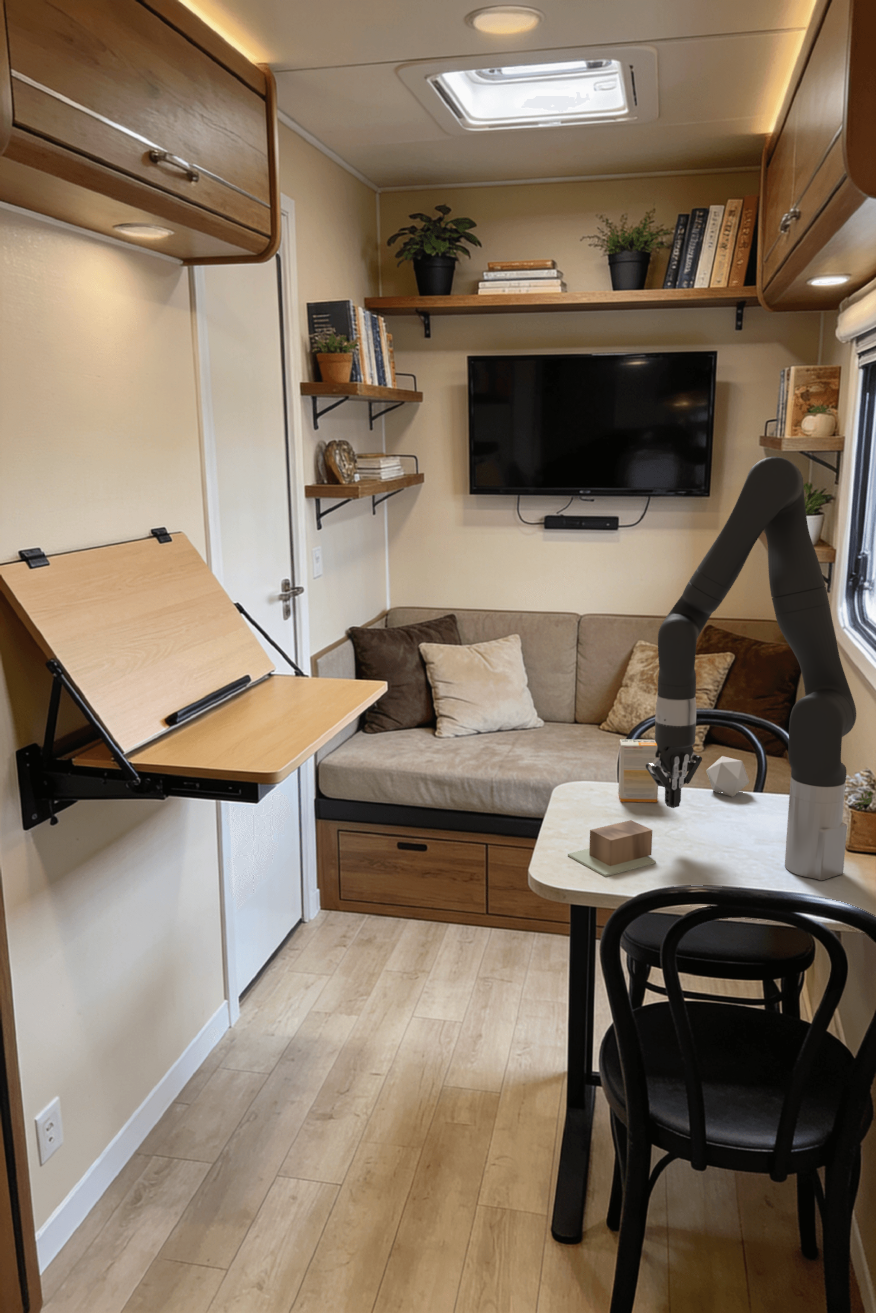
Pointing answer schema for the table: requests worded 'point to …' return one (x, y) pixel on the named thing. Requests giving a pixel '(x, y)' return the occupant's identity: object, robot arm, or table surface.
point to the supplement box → (636, 771)
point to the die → (727, 776)
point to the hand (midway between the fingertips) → (672, 806)
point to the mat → (606, 869)
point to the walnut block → (620, 842)
